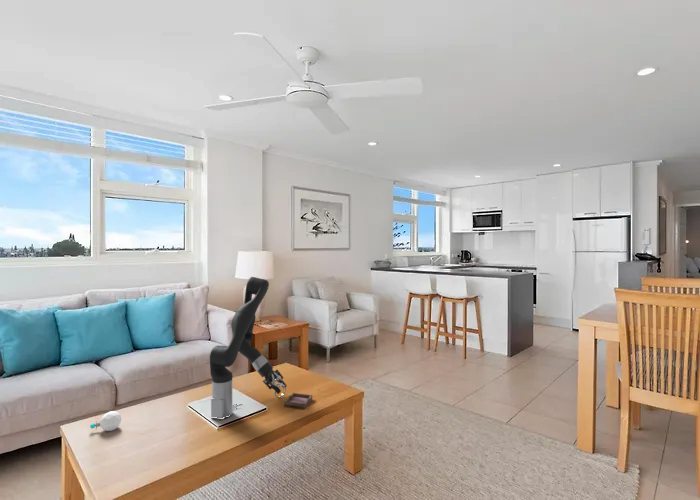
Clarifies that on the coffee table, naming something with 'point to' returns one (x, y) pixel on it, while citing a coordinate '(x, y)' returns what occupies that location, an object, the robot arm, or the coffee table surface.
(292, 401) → the jewellery tray
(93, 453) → the coffee table surface
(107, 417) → the perfume bottle
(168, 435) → the coffee table surface
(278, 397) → the ring
